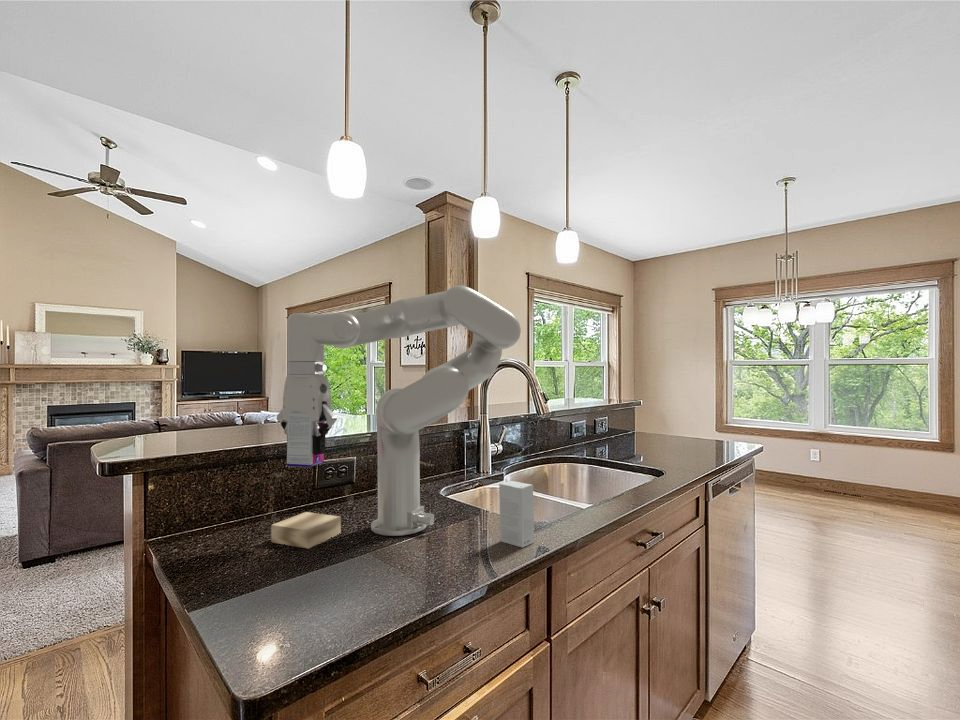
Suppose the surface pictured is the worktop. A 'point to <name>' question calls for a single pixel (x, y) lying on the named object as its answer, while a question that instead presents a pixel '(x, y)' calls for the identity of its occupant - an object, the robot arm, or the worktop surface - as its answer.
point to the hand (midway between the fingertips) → (306, 452)
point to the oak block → (305, 529)
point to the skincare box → (516, 513)
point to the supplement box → (301, 441)
